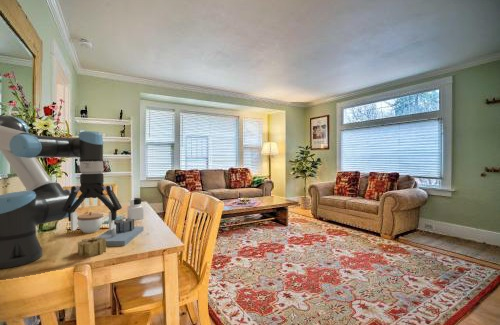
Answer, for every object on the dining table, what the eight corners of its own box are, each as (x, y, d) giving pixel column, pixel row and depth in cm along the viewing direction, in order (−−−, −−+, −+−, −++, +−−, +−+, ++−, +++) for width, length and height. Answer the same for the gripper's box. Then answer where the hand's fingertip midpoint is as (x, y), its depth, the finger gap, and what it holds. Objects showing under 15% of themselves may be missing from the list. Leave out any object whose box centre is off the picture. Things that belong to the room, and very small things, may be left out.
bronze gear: (72, 257, 93) (72, 244, 92) (86, 248, 101) (86, 237, 101) (98, 256, 93) (98, 244, 93) (110, 248, 102) (110, 236, 102)
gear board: (88, 246, 104) (88, 229, 104) (114, 230, 126) (114, 216, 126) (124, 245, 105) (124, 228, 105) (143, 230, 127) (143, 216, 127)
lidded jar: (108, 228, 130) (108, 210, 130) (93, 234, 119) (93, 214, 119) (88, 227, 131) (88, 209, 131) (71, 234, 120) (71, 214, 120)
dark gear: (110, 233, 115) (110, 223, 115) (115, 228, 124) (115, 218, 123) (131, 232, 117) (131, 222, 117) (135, 226, 126) (135, 217, 126)
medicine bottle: (140, 216, 156) (139, 196, 156) (143, 218, 150) (143, 198, 150) (127, 218, 151) (127, 198, 151) (130, 220, 146) (130, 199, 146)
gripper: (49, 174, 92) (51, 233, 92) (121, 173, 94) (122, 231, 94) (63, 172, 100) (64, 227, 100) (130, 172, 101) (131, 225, 102)
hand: (93, 229), depth 97 cm, fingers open, 13 cm apart
